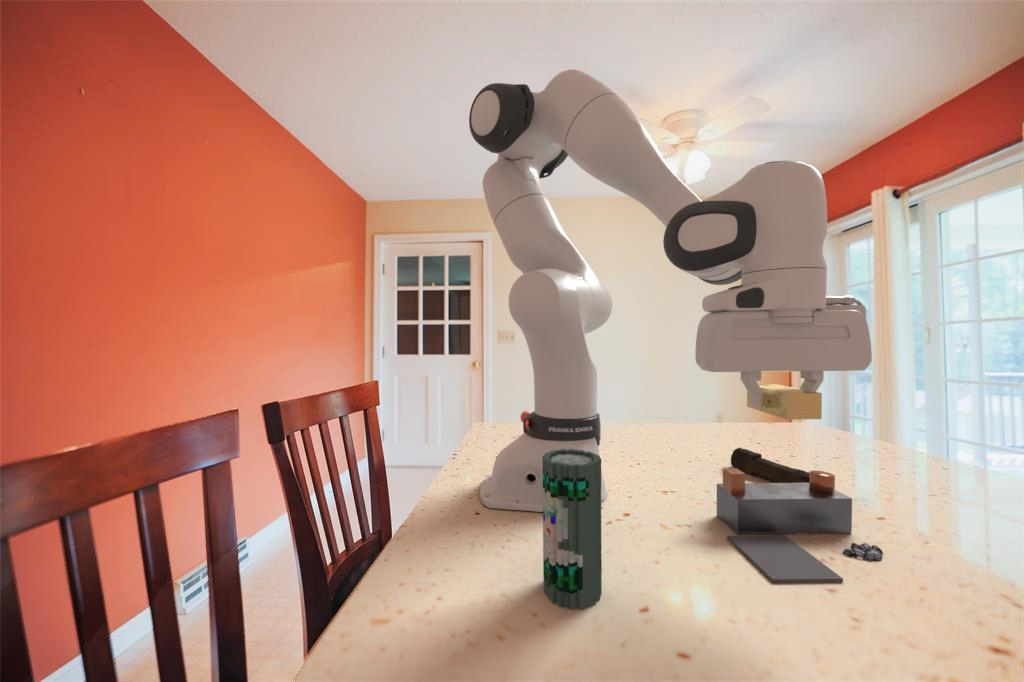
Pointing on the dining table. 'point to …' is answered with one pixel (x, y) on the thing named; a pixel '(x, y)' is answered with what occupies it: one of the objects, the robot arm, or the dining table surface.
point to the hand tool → (766, 467)
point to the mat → (783, 559)
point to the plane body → (783, 505)
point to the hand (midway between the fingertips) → (780, 407)
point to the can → (572, 528)
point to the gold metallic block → (791, 402)
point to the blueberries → (864, 552)
